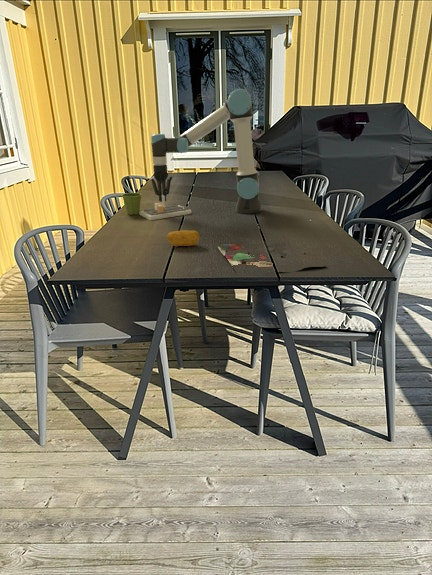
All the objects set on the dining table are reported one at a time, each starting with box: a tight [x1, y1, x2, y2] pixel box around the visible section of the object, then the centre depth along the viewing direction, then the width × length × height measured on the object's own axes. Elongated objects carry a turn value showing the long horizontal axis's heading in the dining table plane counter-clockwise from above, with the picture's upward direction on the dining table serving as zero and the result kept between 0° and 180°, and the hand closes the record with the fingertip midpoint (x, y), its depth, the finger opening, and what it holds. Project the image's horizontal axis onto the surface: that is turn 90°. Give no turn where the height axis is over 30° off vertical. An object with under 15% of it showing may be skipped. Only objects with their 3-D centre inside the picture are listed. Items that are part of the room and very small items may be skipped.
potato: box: [166, 229, 200, 247], centre depth 177 cm, size 7×14×7 cm, turn 89°
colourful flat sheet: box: [217, 243, 273, 268], centre depth 162 cm, size 35×35×2 cm
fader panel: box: [138, 202, 192, 221], centre depth 231 cm, size 16×26×6 cm, turn 121°
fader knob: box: [157, 205, 164, 213], centre depth 226 cm, size 3×2×4 cm
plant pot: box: [120, 192, 143, 216], centre depth 233 cm, size 12×12×11 cm
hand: (163, 207), depth 227 cm, fingers closed
